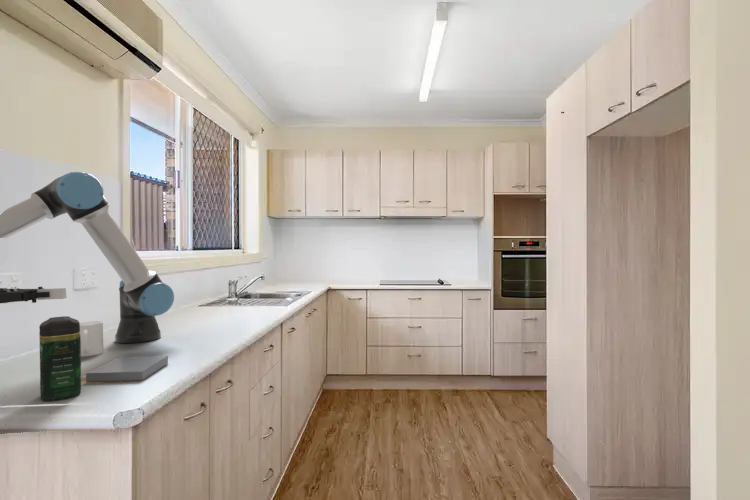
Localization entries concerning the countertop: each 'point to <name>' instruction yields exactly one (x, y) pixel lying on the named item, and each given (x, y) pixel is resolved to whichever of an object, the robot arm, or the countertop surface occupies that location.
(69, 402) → the countertop surface
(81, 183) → the robot arm
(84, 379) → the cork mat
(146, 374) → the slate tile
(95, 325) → the mug
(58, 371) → the coffee jar
